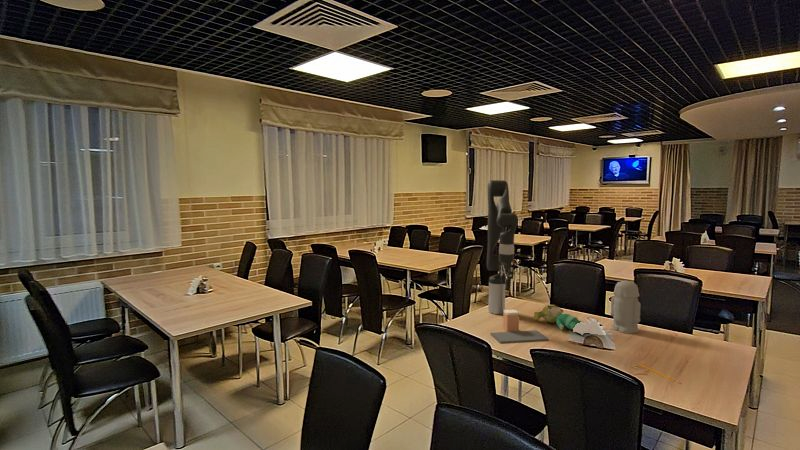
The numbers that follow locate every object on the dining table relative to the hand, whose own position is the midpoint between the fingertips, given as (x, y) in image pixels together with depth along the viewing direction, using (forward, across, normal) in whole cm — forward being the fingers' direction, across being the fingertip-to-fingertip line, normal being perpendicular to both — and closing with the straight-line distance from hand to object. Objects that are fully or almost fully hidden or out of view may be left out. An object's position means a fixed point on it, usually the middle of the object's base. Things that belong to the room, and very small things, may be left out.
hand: (505, 285), depth 218 cm
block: (+22, +8, 0) cm, 23 cm away
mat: (+21, +17, 0) cm, 27 cm away
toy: (+22, +6, +29) cm, 37 cm away
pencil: (+22, +62, +36) cm, 75 cm away
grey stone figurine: (+22, +15, +57) cm, 63 cm away
